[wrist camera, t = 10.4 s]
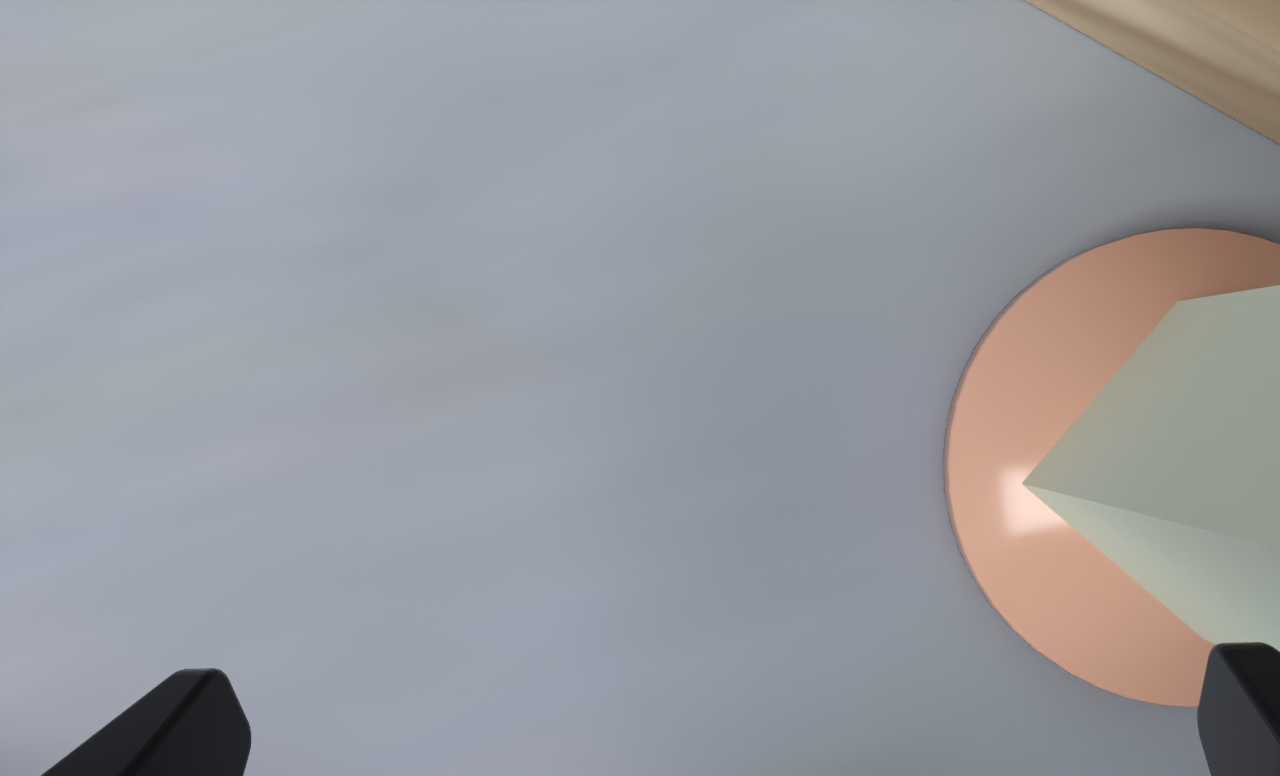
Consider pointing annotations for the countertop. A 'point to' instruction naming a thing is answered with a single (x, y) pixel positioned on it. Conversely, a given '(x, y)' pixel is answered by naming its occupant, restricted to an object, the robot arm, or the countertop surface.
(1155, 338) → the square plug
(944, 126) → the countertop surface
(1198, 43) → the square socket
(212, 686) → the robot arm
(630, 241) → the countertop surface
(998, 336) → the pad
